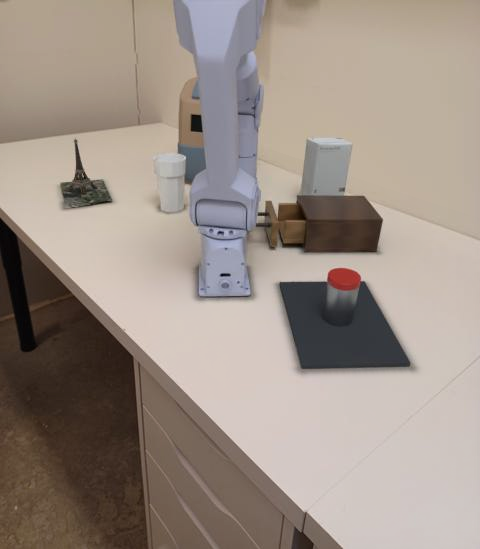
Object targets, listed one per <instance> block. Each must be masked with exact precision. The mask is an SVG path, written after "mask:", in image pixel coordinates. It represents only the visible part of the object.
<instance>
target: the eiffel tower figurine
mask: <svg viewBox="0 0 480 549" xmlns="http://www.w3.org/2000/svg"><path fill="white" fill-rule="evenodd" d="M73 143H74V152H75V154H74V155H75V169H74V171H75V172H74V176H73V179H72V180H71V181H63V182H60V189H61V193H62V197H63V204H64V209H67V210H68V209H73V208H78V207H84V206H90V205H94V204H98V203H103V202H109V201H113V198H112V196H111V194H110V192H109V190H108V187H107V185H106V184H105V181H104V179H92V180H91V178H90V177H88V175H87V173H86V171H85V168H84V166H83V162H82V159H81V155H80V150H79V146H78V145H79V144H78V143H79V142H78V139H77V138H74V140H73Z"/></svg>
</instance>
